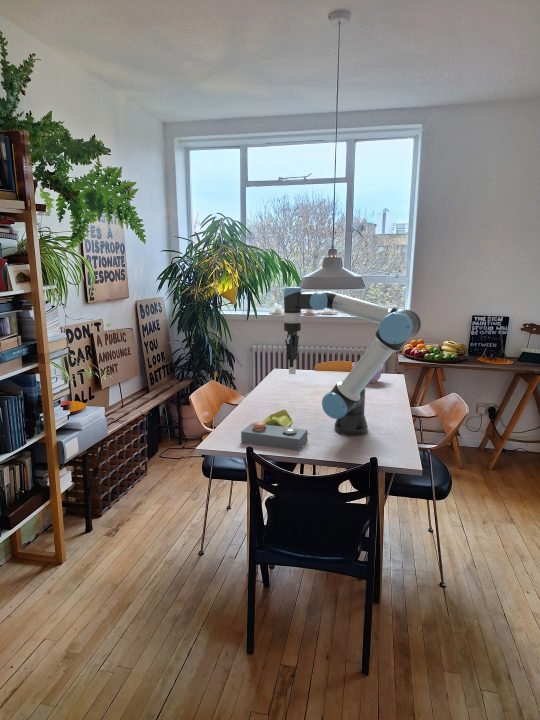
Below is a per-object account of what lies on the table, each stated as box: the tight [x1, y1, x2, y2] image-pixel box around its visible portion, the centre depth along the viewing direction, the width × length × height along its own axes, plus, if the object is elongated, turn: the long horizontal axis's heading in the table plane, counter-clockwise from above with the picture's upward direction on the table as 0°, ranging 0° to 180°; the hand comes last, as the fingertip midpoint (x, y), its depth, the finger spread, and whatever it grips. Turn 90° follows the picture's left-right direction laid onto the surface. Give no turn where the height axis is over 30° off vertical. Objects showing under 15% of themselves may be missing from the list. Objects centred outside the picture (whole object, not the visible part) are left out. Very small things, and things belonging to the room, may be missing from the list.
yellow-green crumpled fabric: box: [261, 409, 293, 428], centre depth 218 cm, size 20×7×10 cm
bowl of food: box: [351, 361, 385, 384], centre depth 301 cm, size 20×20×12 cm
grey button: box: [283, 427, 296, 435], centre depth 197 cm, size 6×6×6 cm
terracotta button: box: [252, 420, 266, 431], centre depth 202 cm, size 6×6×6 cm
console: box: [240, 422, 308, 452], centre depth 200 cm, size 26×12×5 cm, turn 69°
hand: (292, 373), depth 211 cm, fingers closed
